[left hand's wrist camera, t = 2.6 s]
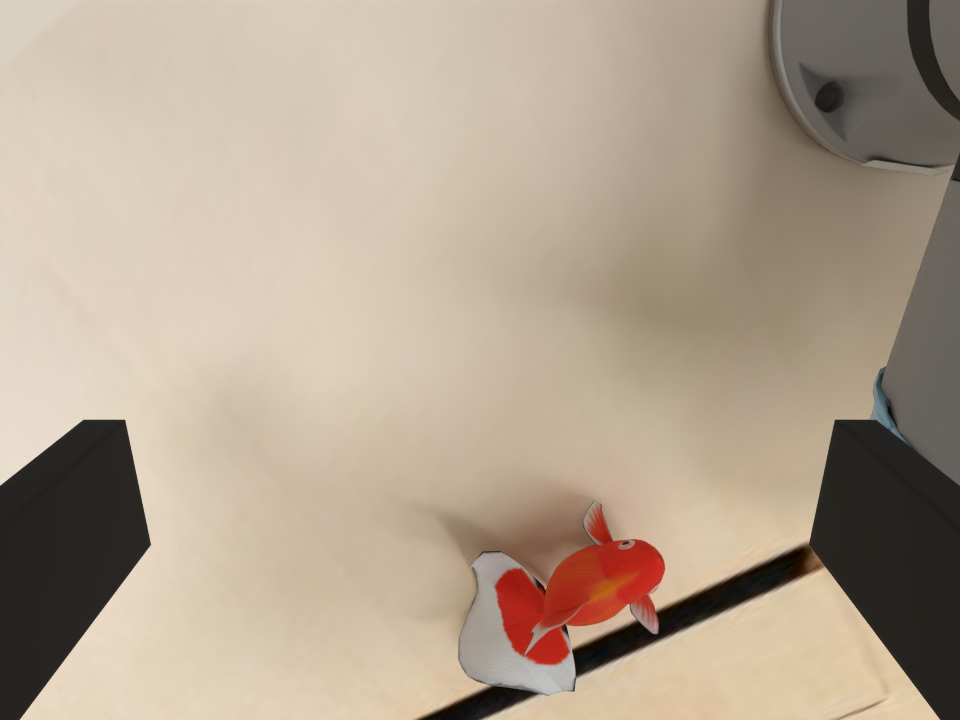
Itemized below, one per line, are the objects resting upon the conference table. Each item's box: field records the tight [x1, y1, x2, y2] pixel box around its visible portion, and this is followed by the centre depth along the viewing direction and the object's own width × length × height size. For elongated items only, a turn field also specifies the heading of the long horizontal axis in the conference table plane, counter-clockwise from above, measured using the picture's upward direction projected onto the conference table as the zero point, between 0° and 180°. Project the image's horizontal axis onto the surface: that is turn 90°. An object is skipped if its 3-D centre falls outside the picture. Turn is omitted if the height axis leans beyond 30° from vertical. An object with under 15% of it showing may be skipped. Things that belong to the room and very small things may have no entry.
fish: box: [458, 501, 665, 696], centre depth 41 cm, size 11×16×10 cm
